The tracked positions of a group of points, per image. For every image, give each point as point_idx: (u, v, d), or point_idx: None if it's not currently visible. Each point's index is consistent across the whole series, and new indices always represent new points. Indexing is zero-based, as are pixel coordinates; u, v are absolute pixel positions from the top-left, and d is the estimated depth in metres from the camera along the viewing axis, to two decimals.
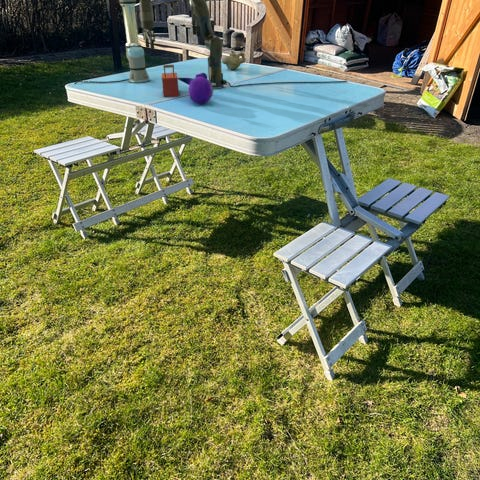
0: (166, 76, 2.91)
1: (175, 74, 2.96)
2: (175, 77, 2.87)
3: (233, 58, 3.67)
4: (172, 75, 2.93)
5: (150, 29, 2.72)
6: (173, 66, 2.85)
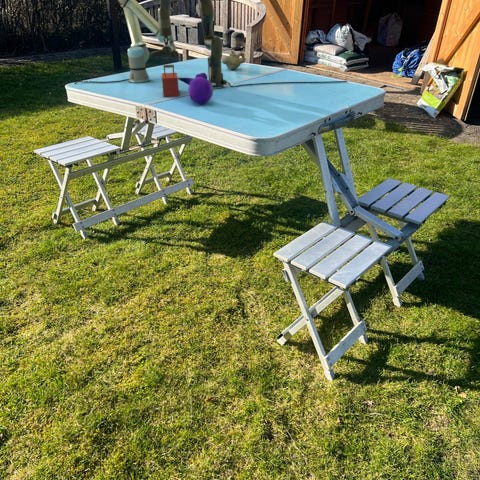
0: (166, 76, 2.91)
1: (175, 74, 2.96)
2: (175, 77, 2.87)
3: (233, 58, 3.67)
4: (172, 75, 2.93)
5: (166, 37, 2.73)
6: (173, 66, 2.85)
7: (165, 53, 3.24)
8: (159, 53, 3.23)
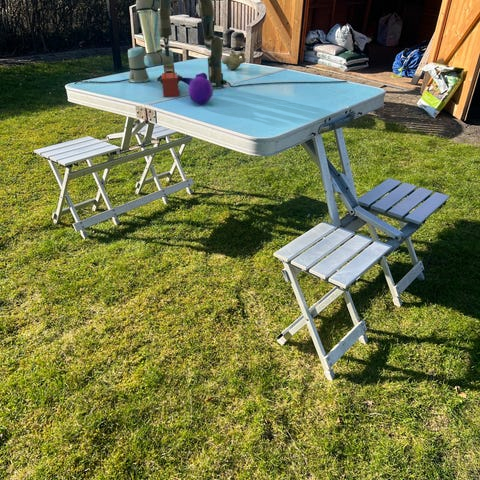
0: (166, 76, 2.91)
1: (175, 74, 2.96)
2: (175, 77, 2.87)
3: (233, 58, 3.67)
4: (172, 75, 2.93)
5: (166, 37, 2.73)
6: (173, 66, 2.85)
7: None
8: None
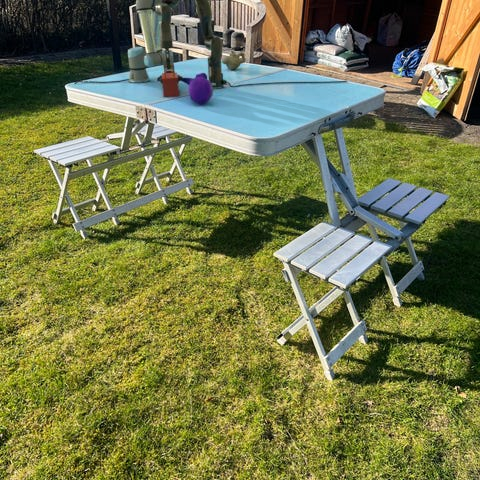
0: (166, 76, 2.91)
1: (175, 74, 2.96)
2: (175, 77, 2.87)
3: (233, 58, 3.67)
4: (172, 75, 2.93)
5: (167, 49, 2.77)
6: (173, 66, 2.85)
7: None
8: None
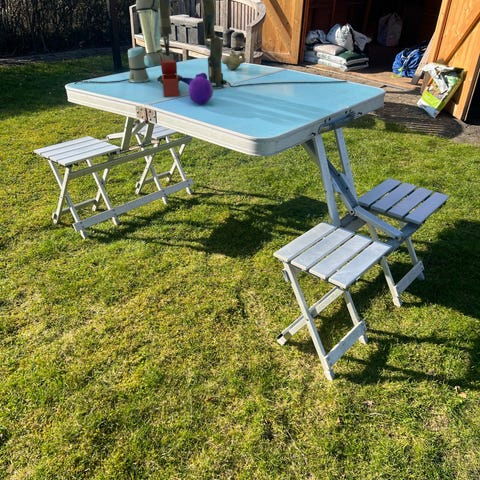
0: None
1: None
2: None
3: (233, 58, 3.67)
4: None
5: (166, 35, 2.79)
6: (172, 52, 2.87)
7: None
8: None
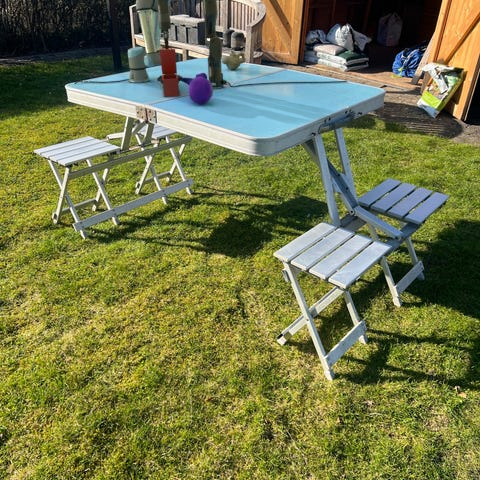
0: None
1: None
2: None
3: (233, 58, 3.67)
4: None
5: (165, 30, 2.85)
6: (171, 46, 2.93)
7: None
8: None
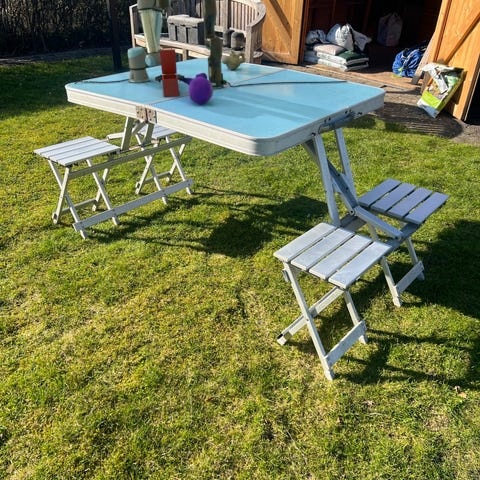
0: None
1: None
2: None
3: (233, 58, 3.67)
4: None
5: (163, 8, 2.70)
6: (171, 46, 2.92)
7: None
8: None
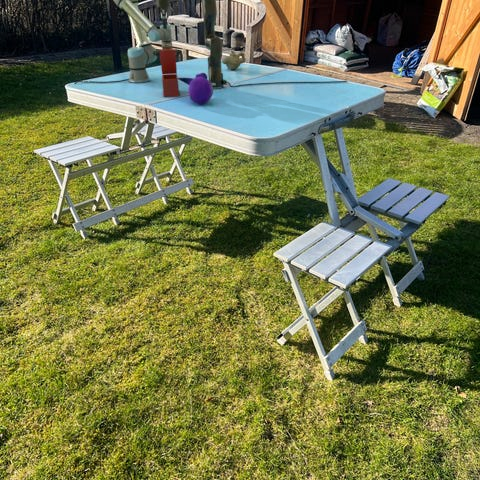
0: None
1: None
2: None
3: (233, 58, 3.67)
4: None
5: (163, 8, 2.70)
6: (171, 46, 2.92)
7: None
8: None
